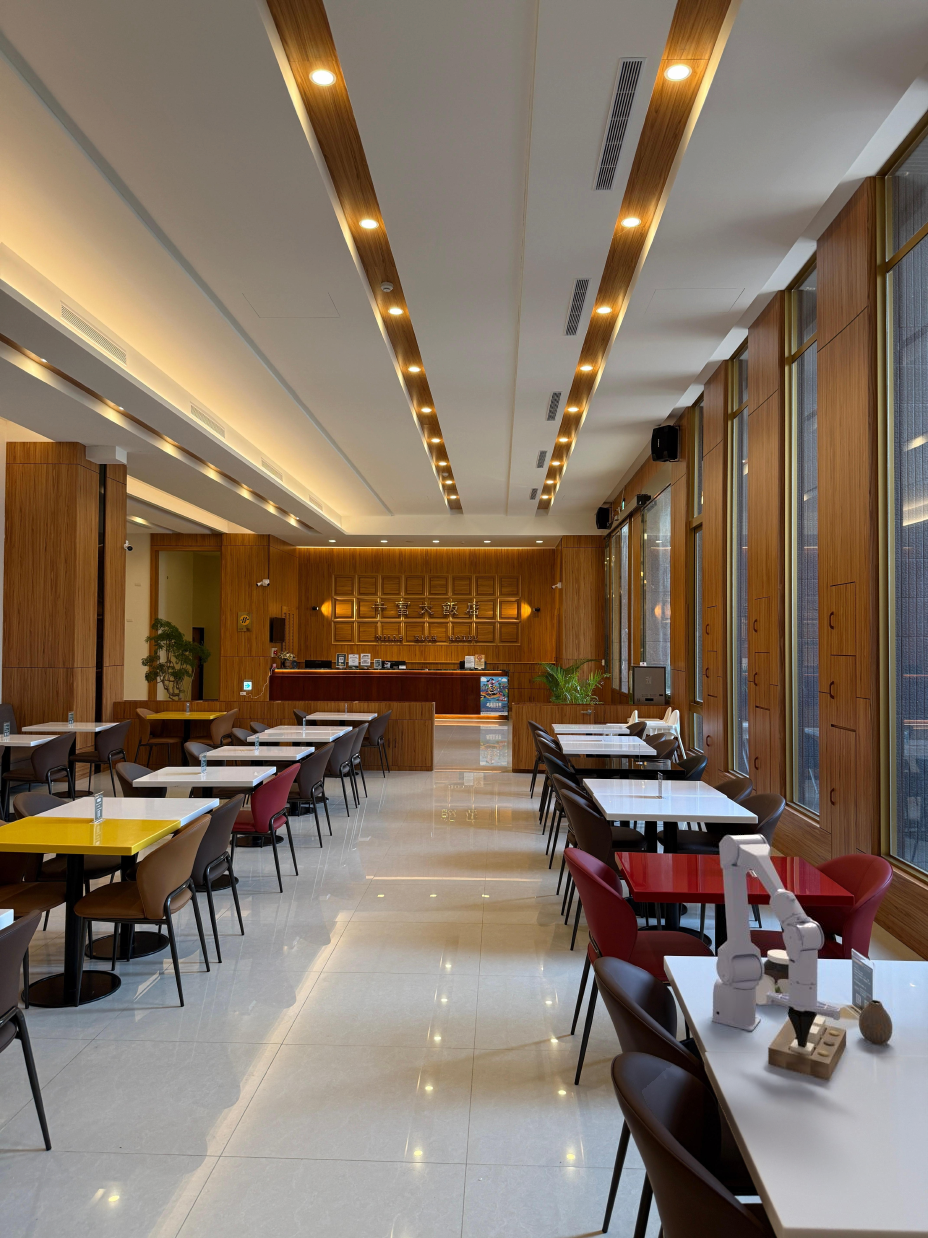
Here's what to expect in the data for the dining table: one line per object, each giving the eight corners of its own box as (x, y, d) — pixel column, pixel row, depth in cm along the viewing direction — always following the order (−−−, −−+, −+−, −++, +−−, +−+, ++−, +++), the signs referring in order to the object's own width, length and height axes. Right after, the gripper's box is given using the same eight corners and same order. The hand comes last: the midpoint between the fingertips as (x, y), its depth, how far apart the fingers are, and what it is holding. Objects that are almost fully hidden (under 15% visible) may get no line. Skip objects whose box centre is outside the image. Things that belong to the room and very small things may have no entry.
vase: (896, 1049, 187) (896, 1009, 188) (863, 1046, 189) (863, 1006, 189) (887, 1036, 194) (887, 997, 194) (855, 1033, 195) (855, 994, 196)
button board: (768, 1064, 178) (768, 1046, 178) (790, 1031, 195) (790, 1015, 195) (828, 1081, 172) (829, 1063, 172) (846, 1046, 188) (846, 1029, 188)
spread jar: (805, 1001, 214) (805, 954, 214) (796, 1016, 204) (796, 967, 205) (756, 990, 220) (757, 944, 221) (745, 1004, 210) (746, 956, 211)
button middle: (796, 1047, 183) (796, 1029, 183) (800, 1041, 186) (800, 1022, 186) (816, 1053, 180) (816, 1034, 181) (819, 1046, 184) (820, 1027, 184)
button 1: (790, 1065, 178) (790, 1046, 178) (794, 1058, 181) (794, 1039, 181) (810, 1071, 175) (810, 1051, 176) (814, 1063, 179) (814, 1044, 179)
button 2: (802, 1038, 188) (802, 1019, 188) (806, 1031, 191) (806, 1013, 191) (821, 1043, 185) (821, 1024, 186) (825, 1036, 189) (825, 1018, 189)
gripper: (763, 977, 180) (762, 1043, 179) (836, 994, 172) (835, 1062, 171) (771, 968, 186) (770, 1031, 185) (842, 984, 178) (841, 1050, 177)
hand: (802, 1045), depth 178 cm, fingers closed, pressing on button 1
